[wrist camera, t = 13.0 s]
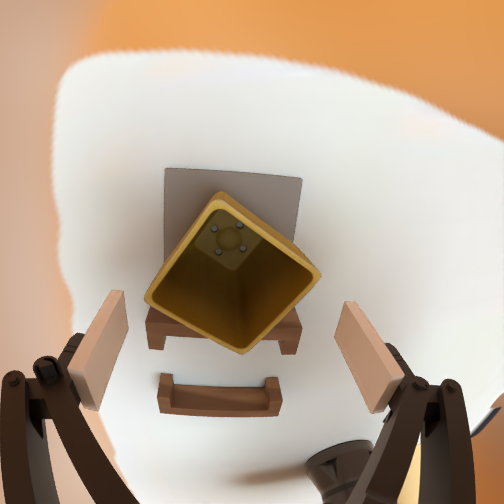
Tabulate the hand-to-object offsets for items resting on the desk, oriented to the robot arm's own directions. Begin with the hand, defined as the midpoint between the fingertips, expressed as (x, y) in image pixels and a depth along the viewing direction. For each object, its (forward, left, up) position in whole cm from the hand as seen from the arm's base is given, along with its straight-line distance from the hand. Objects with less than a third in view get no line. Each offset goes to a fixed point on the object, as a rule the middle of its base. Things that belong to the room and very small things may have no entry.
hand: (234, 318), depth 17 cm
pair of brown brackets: (-15, 0, -12) cm, 19 cm away
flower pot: (0, 0, -12) cm, 12 cm away
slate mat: (0, 0, -12) cm, 12 cm away
